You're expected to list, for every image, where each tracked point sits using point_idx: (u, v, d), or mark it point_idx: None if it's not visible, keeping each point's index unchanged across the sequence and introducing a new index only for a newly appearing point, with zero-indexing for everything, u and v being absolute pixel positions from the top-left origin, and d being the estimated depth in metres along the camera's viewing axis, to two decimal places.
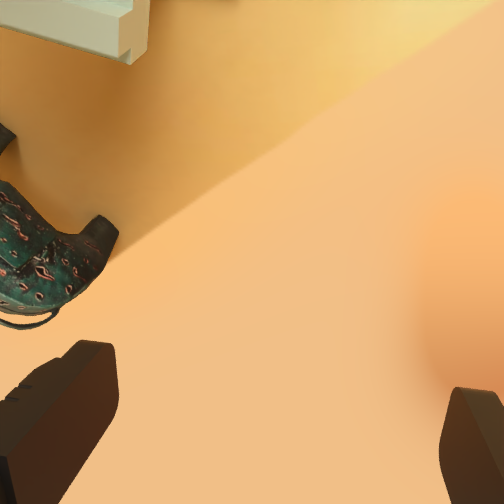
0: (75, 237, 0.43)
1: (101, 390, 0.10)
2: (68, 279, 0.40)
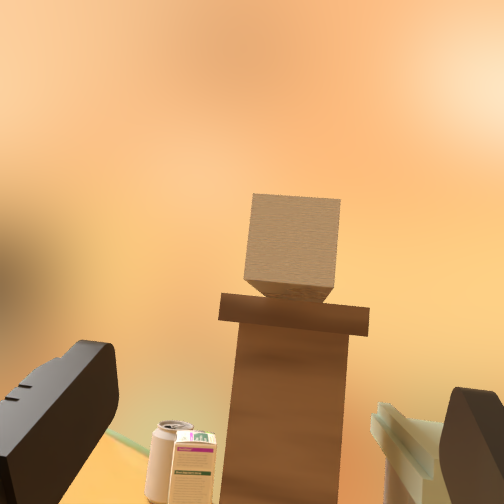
0: None
1: (102, 390, 0.10)
2: None
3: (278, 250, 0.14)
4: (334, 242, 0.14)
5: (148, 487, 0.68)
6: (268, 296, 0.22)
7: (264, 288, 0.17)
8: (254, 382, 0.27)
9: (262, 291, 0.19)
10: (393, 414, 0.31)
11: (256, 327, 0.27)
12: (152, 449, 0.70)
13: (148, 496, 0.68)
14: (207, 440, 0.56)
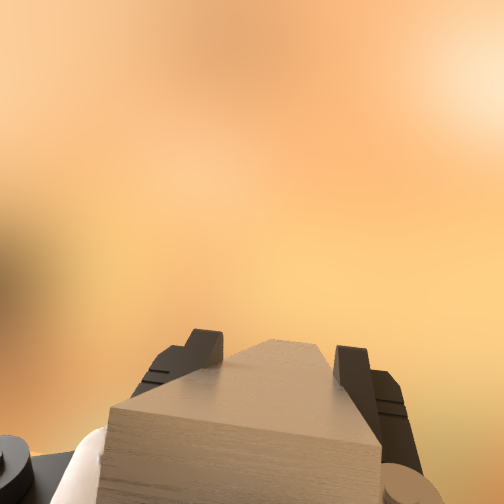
0: None
1: None
2: None
3: None
4: None
5: None
6: None
7: None
8: None
9: None
10: None
11: None
12: None
13: None
14: None
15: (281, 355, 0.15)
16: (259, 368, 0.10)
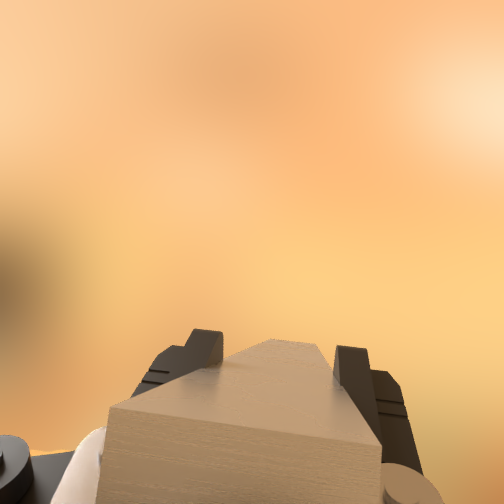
0: None
1: None
2: None
3: None
4: None
5: None
6: None
7: None
8: None
9: None
10: None
11: None
12: None
13: None
14: None
15: (281, 355, 0.15)
16: (259, 368, 0.10)
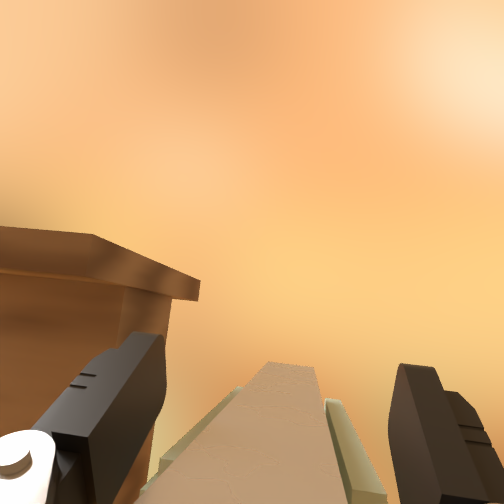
0: None
1: (154, 379, 0.10)
2: None
3: None
4: None
5: None
6: None
7: None
8: None
9: None
10: (227, 399, 0.24)
11: (6, 279, 0.20)
12: None
13: None
14: None
15: (277, 398, 0.15)
16: (252, 433, 0.10)
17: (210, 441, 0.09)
